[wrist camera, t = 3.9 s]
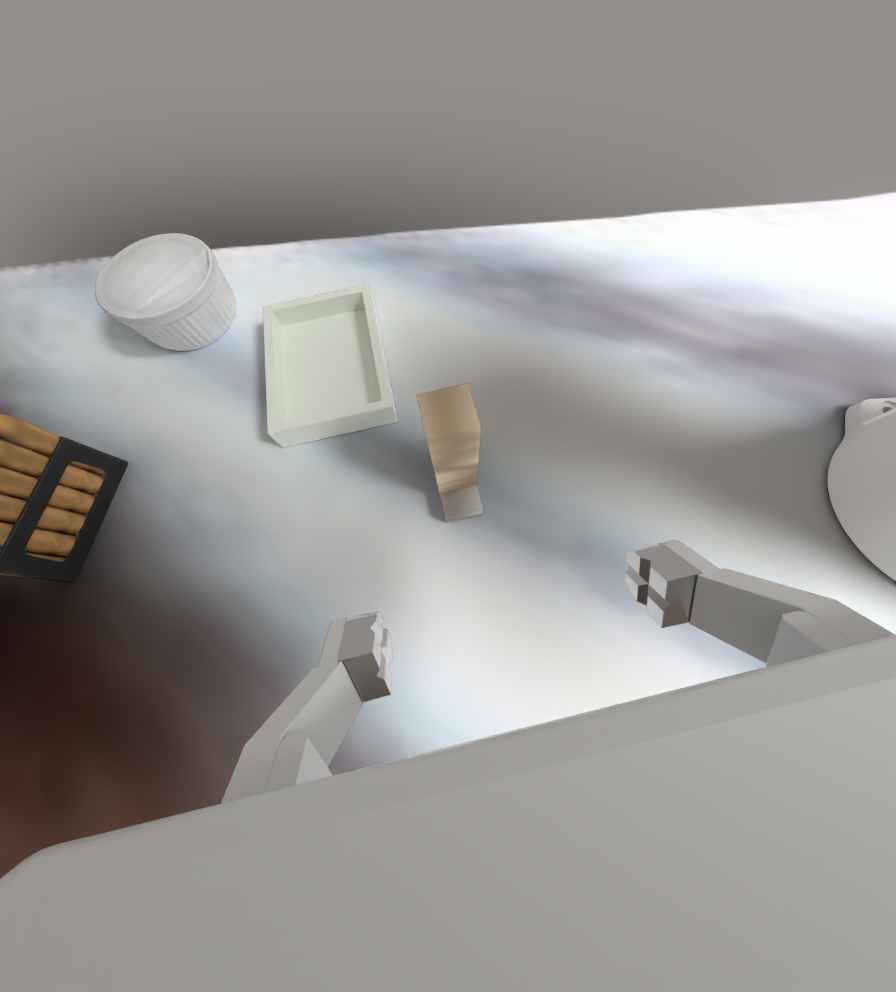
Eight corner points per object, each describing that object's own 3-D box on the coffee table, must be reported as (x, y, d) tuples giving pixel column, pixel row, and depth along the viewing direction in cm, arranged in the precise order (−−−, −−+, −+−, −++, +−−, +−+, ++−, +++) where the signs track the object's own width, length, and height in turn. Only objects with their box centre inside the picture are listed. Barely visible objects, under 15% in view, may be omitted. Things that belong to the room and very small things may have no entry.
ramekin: (233, 360, 33) (192, 316, 28) (130, 362, 34) (72, 319, 29) (257, 280, 37) (225, 229, 32) (164, 284, 38) (118, 234, 33)
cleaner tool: (462, 440, 29) (459, 356, 19) (482, 514, 26) (490, 460, 17) (429, 447, 29) (410, 367, 19) (446, 523, 26) (434, 473, 17)
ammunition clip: (110, 461, 30) (-105, 370, 19) (129, 462, 30) (-78, 371, 19) (54, 580, 26) (-253, 557, 15) (75, 582, 26) (-220, 560, 15)
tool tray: (375, 305, 34) (369, 284, 32) (398, 421, 30) (392, 406, 27) (276, 327, 34) (263, 307, 32) (283, 447, 29) (267, 434, 27)
